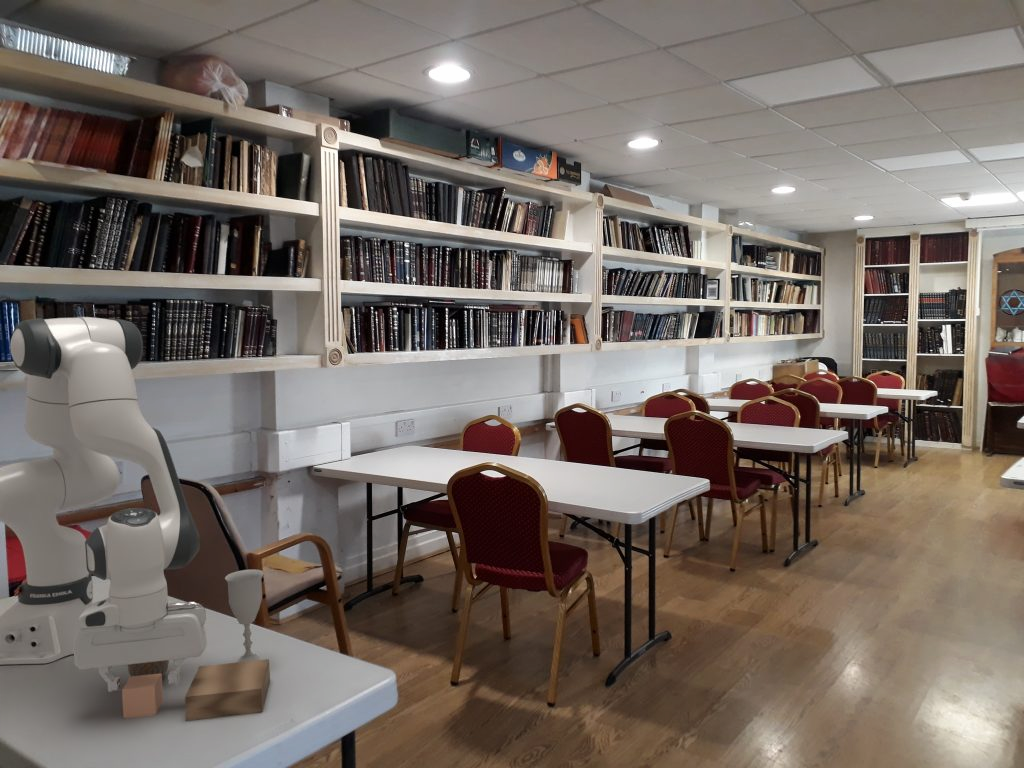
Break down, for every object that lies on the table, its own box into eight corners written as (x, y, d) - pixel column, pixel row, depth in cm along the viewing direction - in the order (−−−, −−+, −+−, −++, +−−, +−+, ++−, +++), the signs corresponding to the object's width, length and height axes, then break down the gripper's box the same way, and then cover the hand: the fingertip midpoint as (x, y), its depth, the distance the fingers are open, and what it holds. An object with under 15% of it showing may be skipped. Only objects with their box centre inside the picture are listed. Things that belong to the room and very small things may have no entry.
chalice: (255, 678, 142) (250, 582, 141) (221, 675, 144) (217, 580, 142) (275, 661, 149) (270, 570, 148) (243, 659, 151) (238, 568, 150)
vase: (143, 691, 138) (140, 643, 137) (120, 683, 142) (117, 636, 141) (177, 676, 144) (175, 630, 143) (155, 668, 147) (152, 624, 147)
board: (186, 720, 127) (185, 697, 127) (200, 688, 139) (199, 666, 138) (262, 711, 129) (261, 688, 129) (270, 680, 141) (269, 659, 141)
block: (123, 718, 128) (122, 689, 128) (132, 704, 133) (130, 676, 133) (155, 715, 129) (154, 686, 129) (163, 701, 134) (161, 673, 134)
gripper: (208, 594, 135) (212, 671, 136) (80, 606, 131) (86, 685, 132) (201, 606, 129) (206, 687, 130) (67, 619, 125) (73, 702, 126)
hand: (144, 686), depth 131 cm, fingers open, 8 cm apart
